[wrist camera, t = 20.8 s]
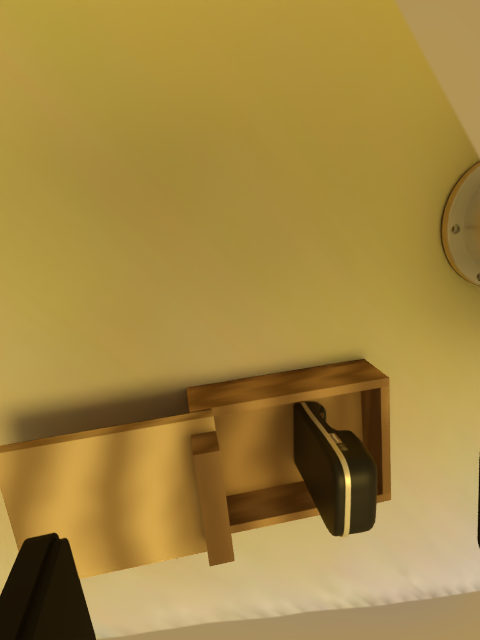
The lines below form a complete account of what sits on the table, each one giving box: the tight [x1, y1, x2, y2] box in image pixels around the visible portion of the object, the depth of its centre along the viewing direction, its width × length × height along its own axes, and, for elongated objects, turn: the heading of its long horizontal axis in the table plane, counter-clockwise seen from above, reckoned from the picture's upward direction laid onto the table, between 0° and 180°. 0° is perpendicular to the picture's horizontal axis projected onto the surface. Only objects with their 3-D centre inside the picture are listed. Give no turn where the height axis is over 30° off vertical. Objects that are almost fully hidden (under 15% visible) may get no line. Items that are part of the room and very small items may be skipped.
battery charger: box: [294, 402, 377, 537], centre depth 37 cm, size 7×4×11 cm, turn 2°
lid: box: [0, 410, 235, 579], centre depth 34 cm, size 17×13×4 cm
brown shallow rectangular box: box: [187, 359, 391, 533], centre depth 41 cm, size 18×13×5 cm
